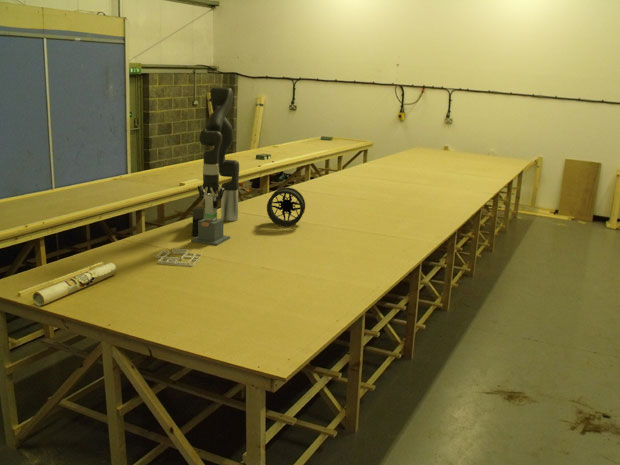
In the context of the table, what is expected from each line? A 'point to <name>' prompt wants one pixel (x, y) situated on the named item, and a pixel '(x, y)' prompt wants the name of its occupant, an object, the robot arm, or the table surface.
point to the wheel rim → (286, 206)
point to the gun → (197, 219)
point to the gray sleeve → (210, 232)
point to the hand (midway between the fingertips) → (210, 207)
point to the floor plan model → (175, 260)
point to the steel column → (210, 209)
